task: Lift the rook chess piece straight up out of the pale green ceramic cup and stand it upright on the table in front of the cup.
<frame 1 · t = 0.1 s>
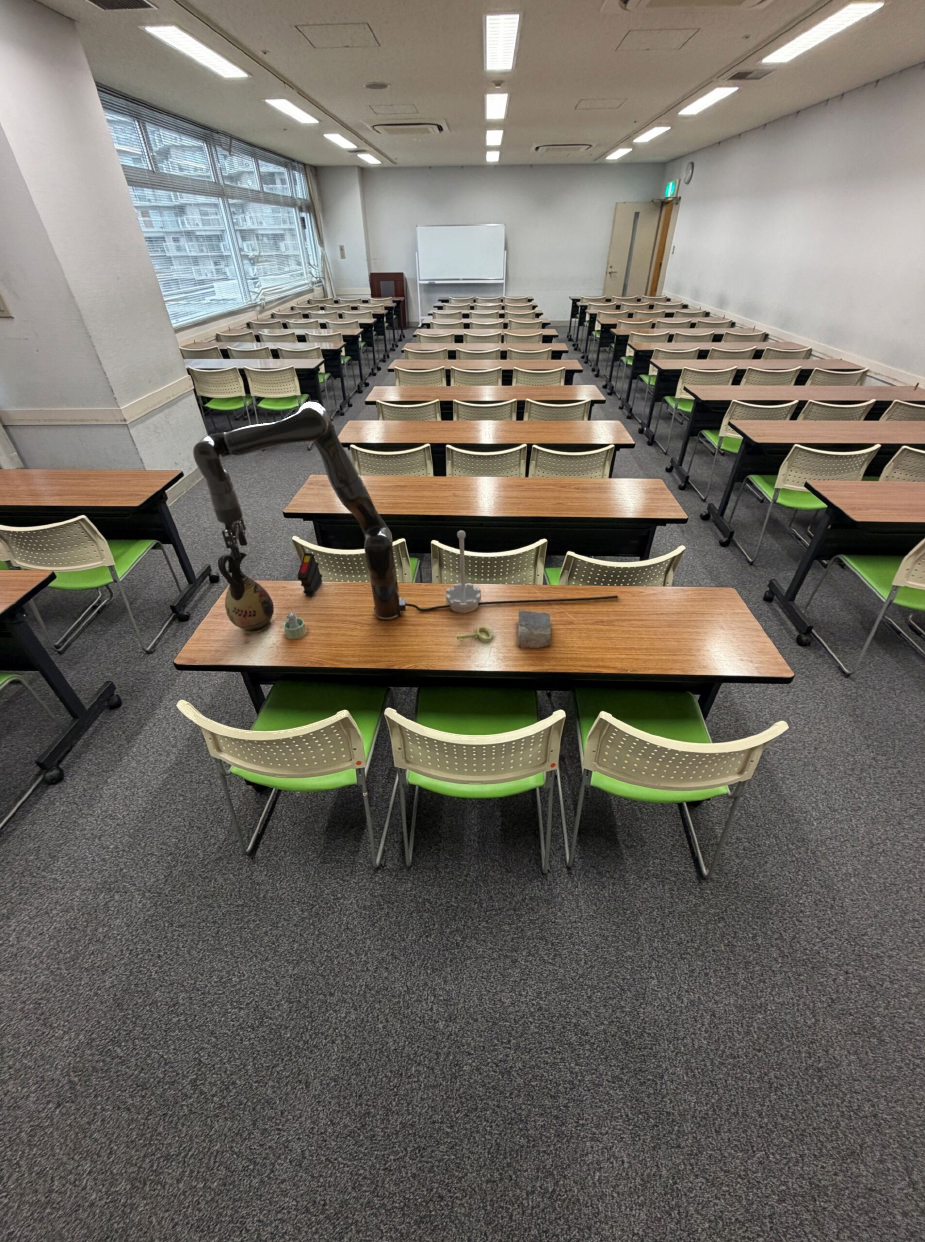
hand: (240, 551, 168), 29 cm above the table, tool pointing down, fingers open, 8 cm apart
flag stand: (463, 604, 191), on the table
rook chess piece: (296, 633, 179), resting on cup
key: (475, 638, 174), on the table
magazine: (313, 591, 202), on the table
ceramic jug: (255, 627, 183), on the table
geological specimen: (533, 635, 175), on the table
cup: (296, 633, 179), on the table
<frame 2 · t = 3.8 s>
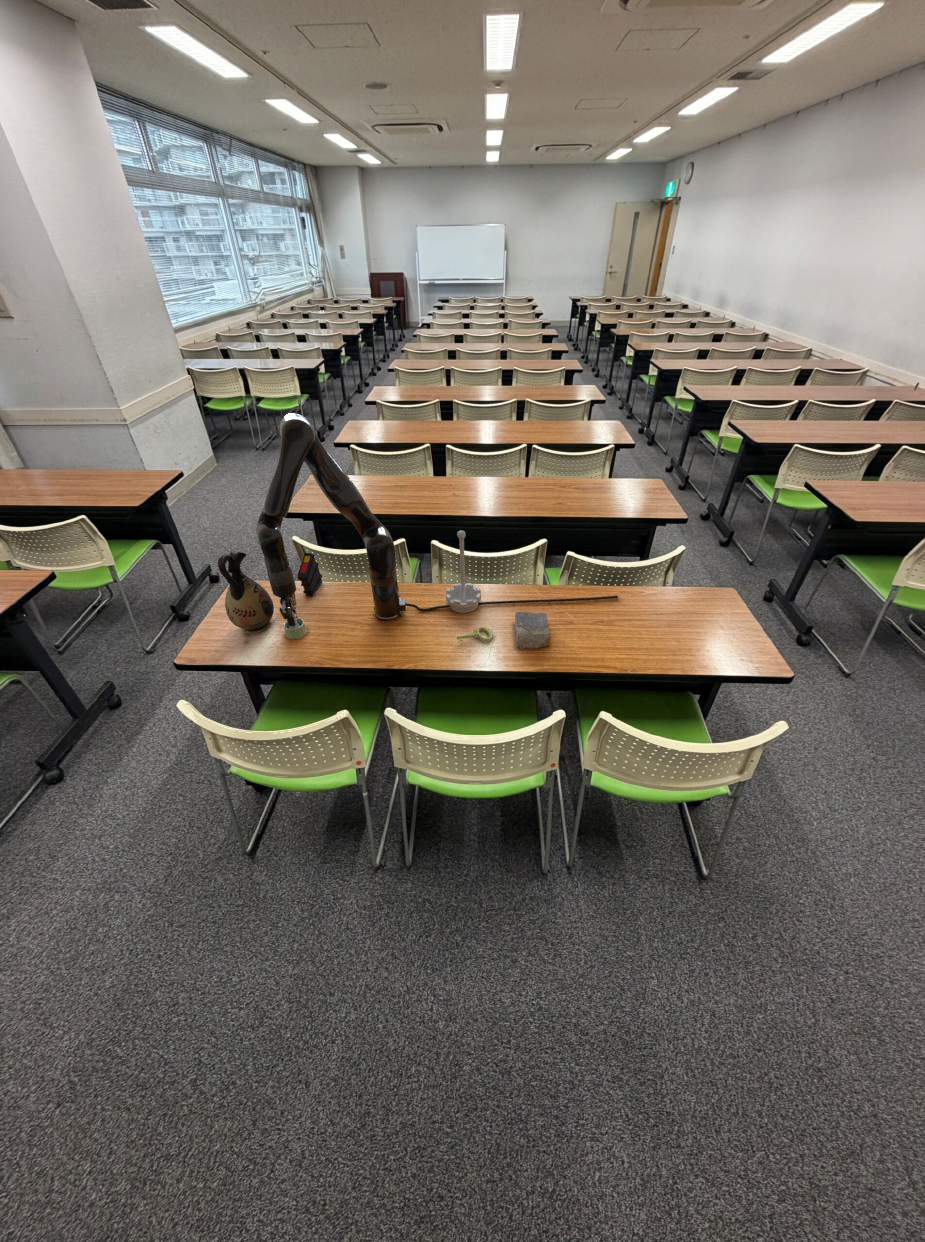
hand: (293, 622, 176), 5 cm above the table, tool pointing down, fingers closed on rook chess piece, 3 cm apart
rook chess piece: (296, 633, 179), resting on cup, touching gripper
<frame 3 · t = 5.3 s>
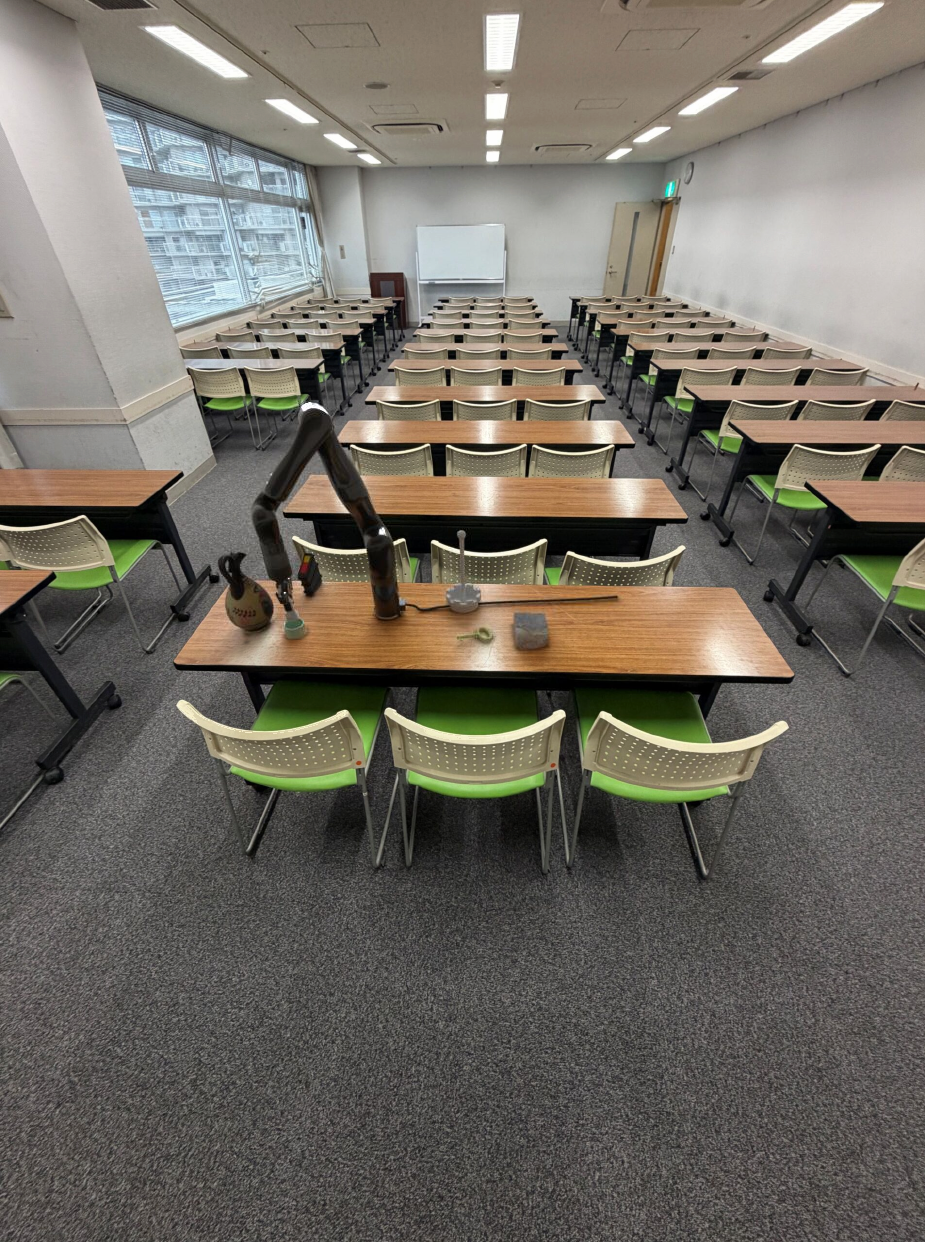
hand: (289, 607, 173), 11 cm above the table, tool pointing down, fingers closed on rook chess piece, 3 cm apart
rook chess piece: (293, 618, 176), point 6 cm above the table, touching gripper
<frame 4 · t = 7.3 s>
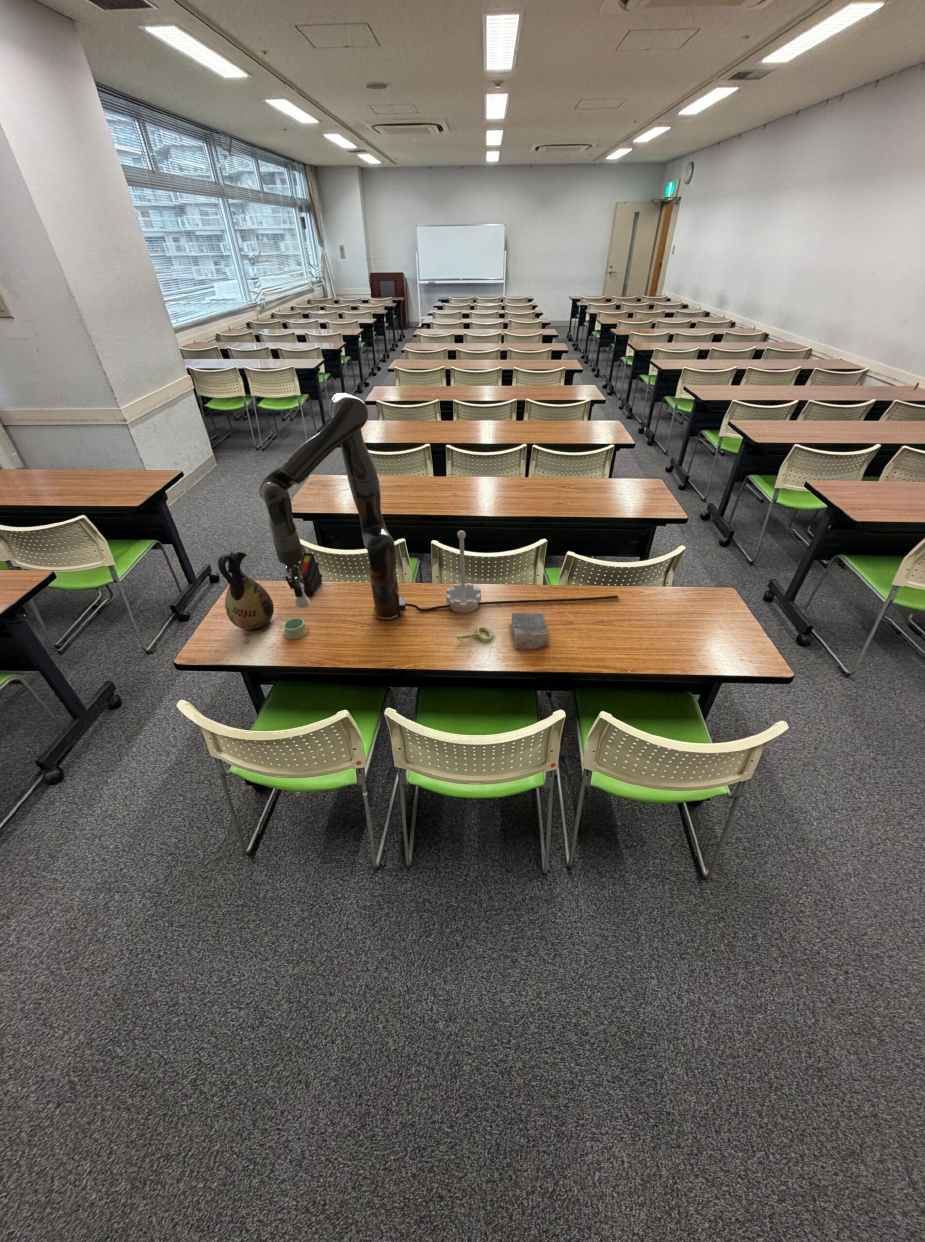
hand: (300, 592, 165), 19 cm above the table, tool pointing down, fingers closed on rook chess piece, 3 cm apart
rook chess piece: (303, 605, 168), point 14 cm above the table, touching gripper
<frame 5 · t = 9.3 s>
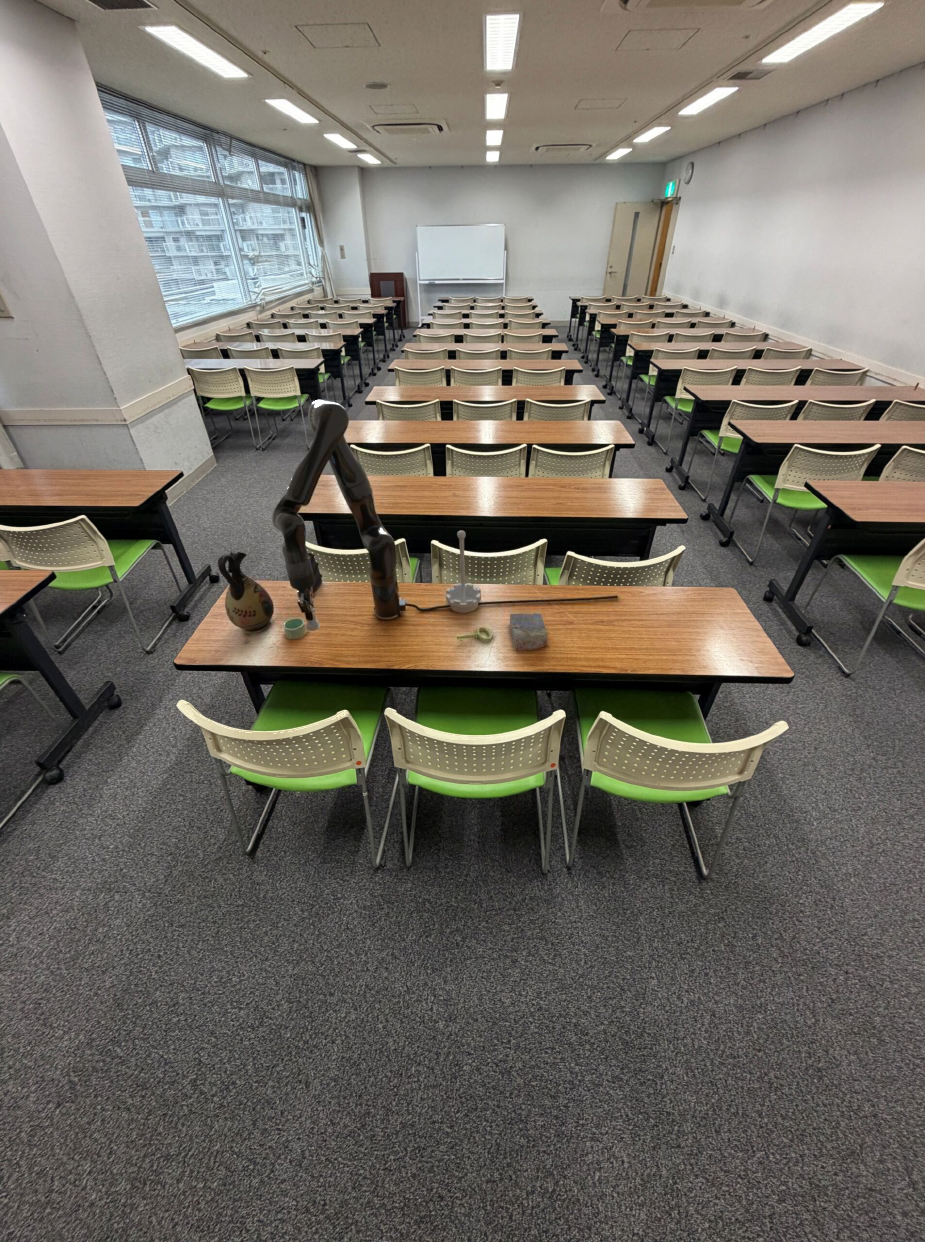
hand: (310, 616, 169), 11 cm above the table, tool pointing down, fingers closed on rook chess piece, 3 cm apart
rook chess piece: (313, 627, 171), point 6 cm above the table, touching gripper
when the fingers open (5 cm above the table, at t = 11.0 s): rook chess piece stays where it is, on the table.
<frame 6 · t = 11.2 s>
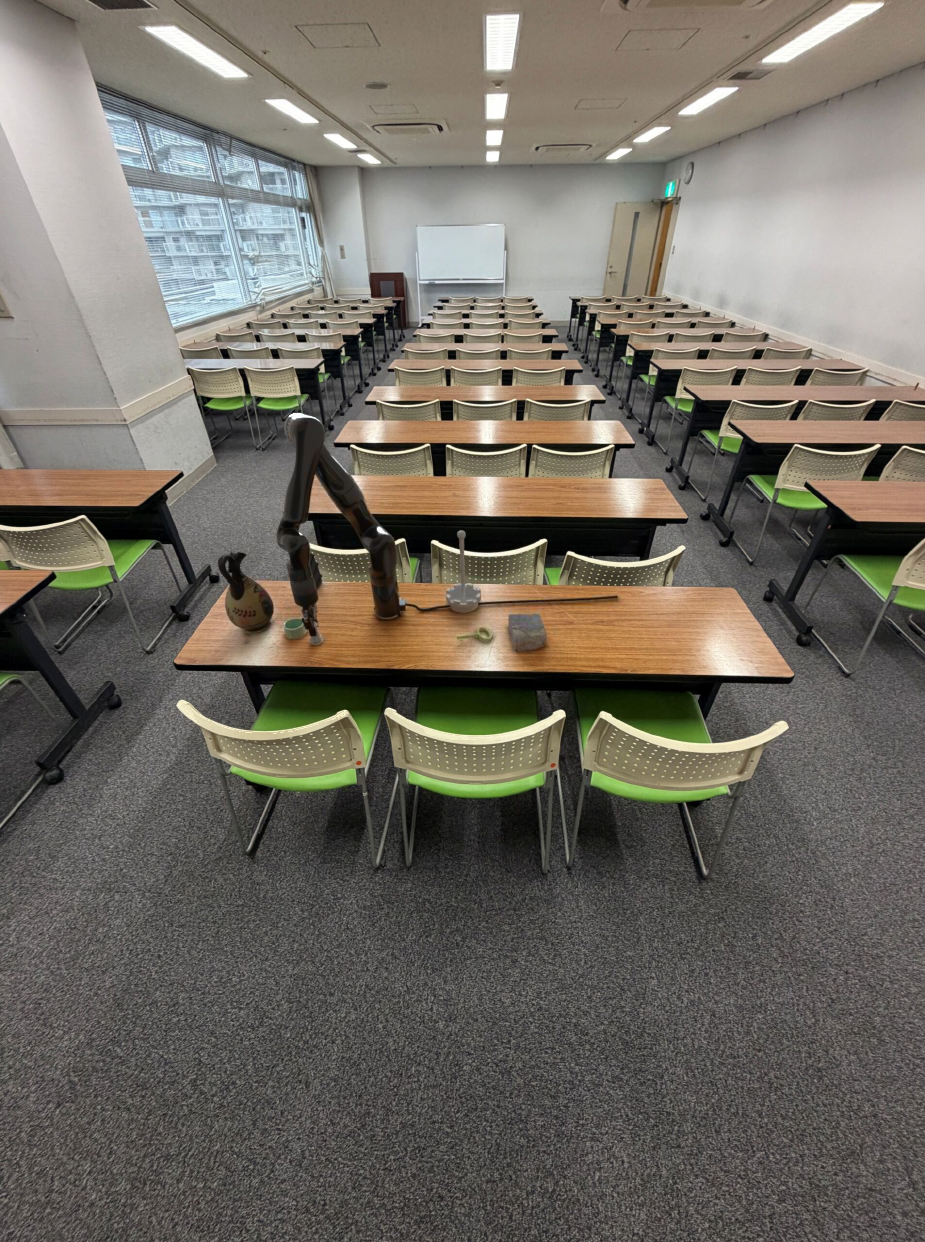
hand: (314, 631, 172), 4 cm above the table, tool pointing down, fingers open, 4 cm apart
rook chess piece: (317, 642, 175), on the table
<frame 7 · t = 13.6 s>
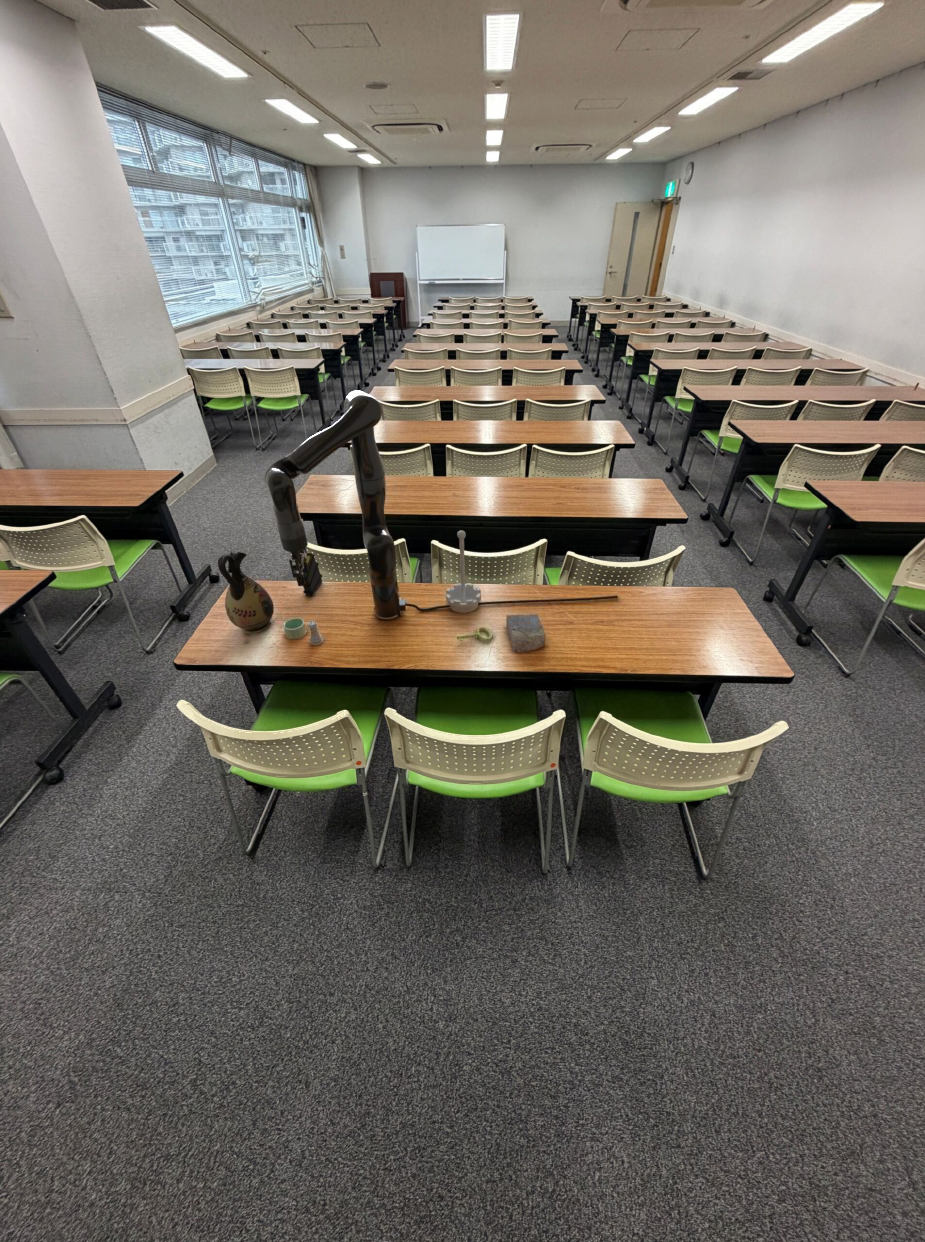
hand: (303, 578, 165), 23 cm above the table, tool pointing down, fingers open, 8 cm apart
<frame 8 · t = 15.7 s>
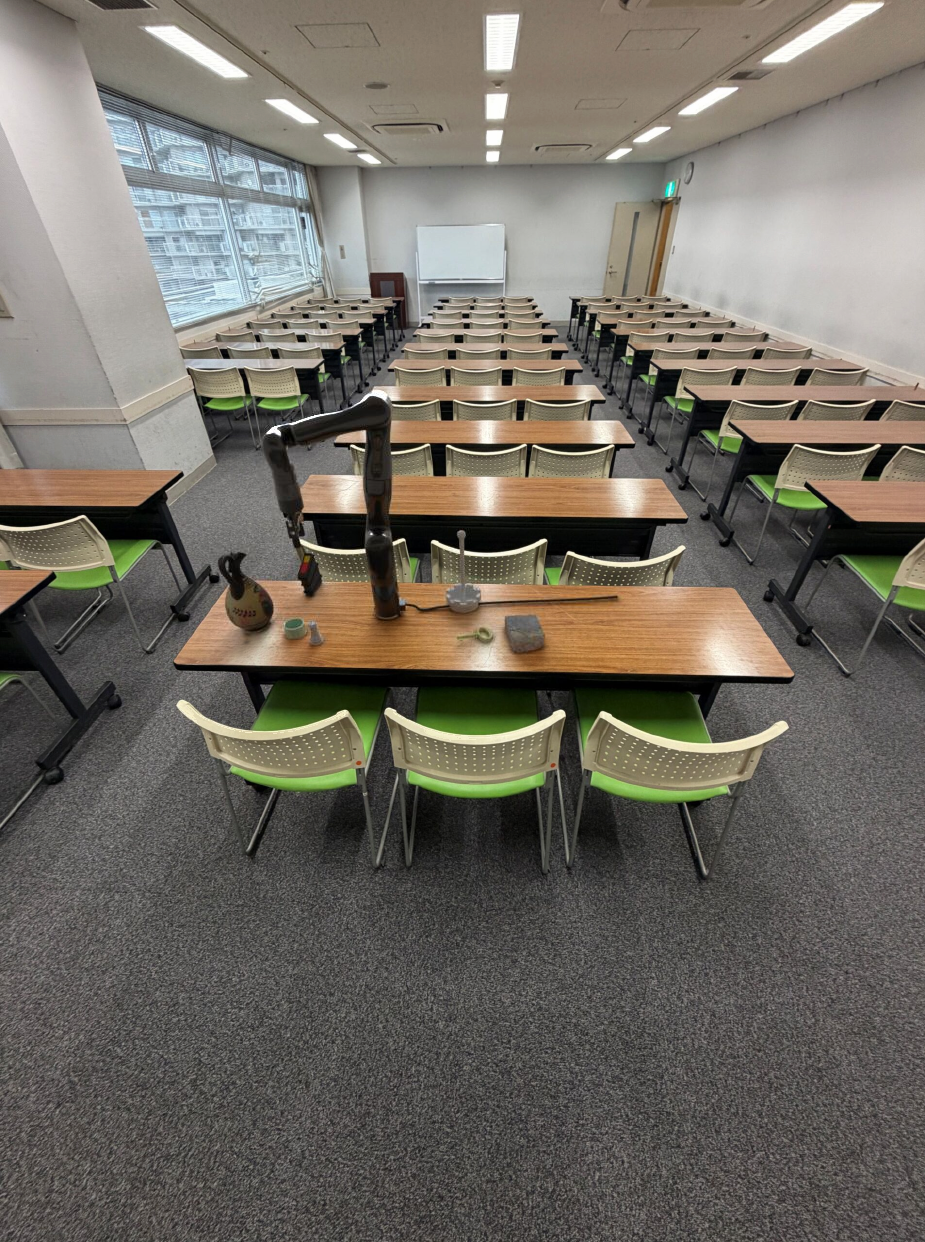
hand: (299, 541, 170), 30 cm above the table, tool pointing down, fingers open, 8 cm apart
at the end: rook chess piece inside the target area (0.1 cm from its centre), on the table; rook chess piece tilted 0°; rook chess piece touching table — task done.
